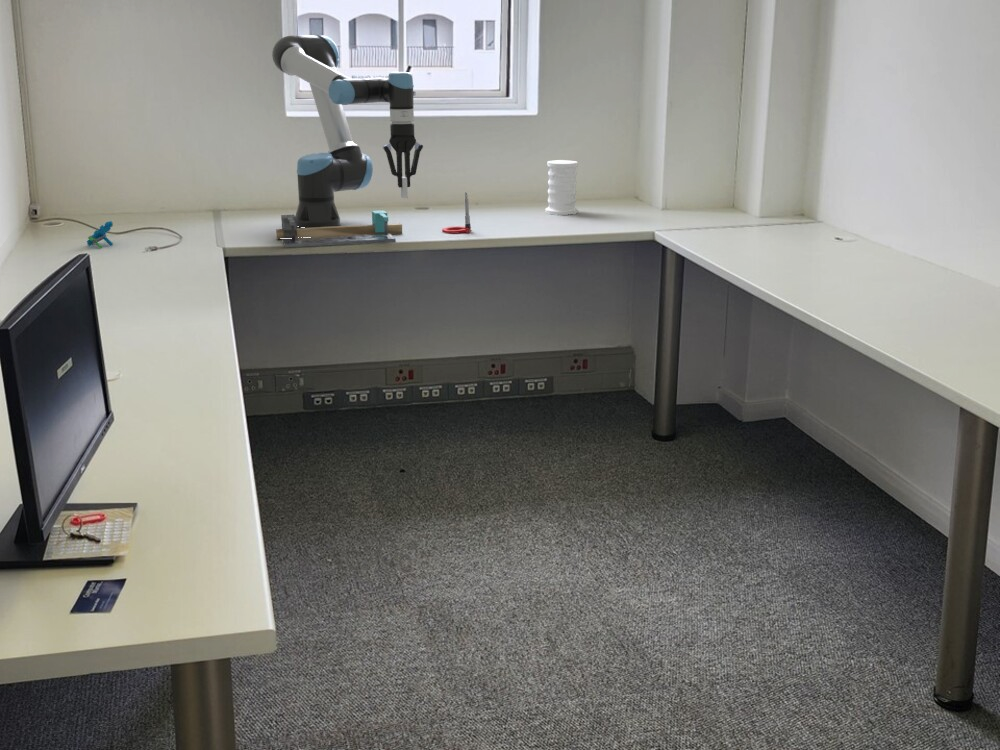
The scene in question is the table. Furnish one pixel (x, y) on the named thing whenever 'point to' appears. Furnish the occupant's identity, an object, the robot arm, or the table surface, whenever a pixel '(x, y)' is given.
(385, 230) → the sliding jaw
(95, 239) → the blue blocky piece
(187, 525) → the table surface
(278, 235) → the gauge rail
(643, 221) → the table surface
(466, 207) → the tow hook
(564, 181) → the decorative container
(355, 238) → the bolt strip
